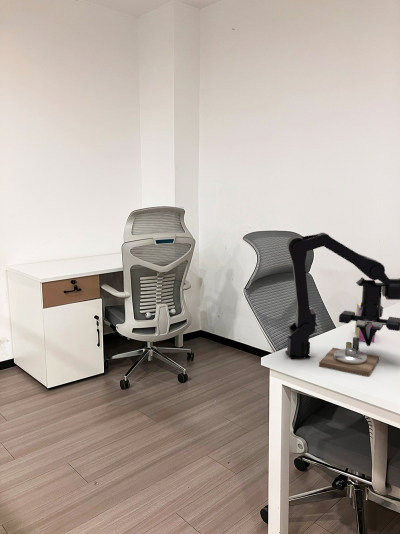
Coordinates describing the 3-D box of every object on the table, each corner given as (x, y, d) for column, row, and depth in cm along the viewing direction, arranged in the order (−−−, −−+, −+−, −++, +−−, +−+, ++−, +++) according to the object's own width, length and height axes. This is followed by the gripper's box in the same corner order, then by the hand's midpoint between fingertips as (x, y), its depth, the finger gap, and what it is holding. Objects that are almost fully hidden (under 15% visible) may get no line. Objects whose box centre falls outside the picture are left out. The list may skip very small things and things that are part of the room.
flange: (362, 366, 142) (363, 351, 141) (329, 360, 147) (330, 345, 146) (371, 354, 152) (372, 340, 151) (340, 348, 157) (341, 334, 156)
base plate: (368, 376, 139) (370, 362, 138) (319, 366, 146) (319, 352, 146) (379, 360, 151) (380, 347, 150) (332, 351, 159) (333, 339, 158)
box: (374, 342, 168) (377, 310, 166) (358, 341, 169) (360, 310, 167) (370, 333, 178) (372, 303, 176) (354, 332, 179) (356, 302, 177)
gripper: (406, 297, 152) (403, 343, 155) (348, 290, 161) (346, 334, 164) (401, 305, 142) (397, 354, 145) (339, 297, 152) (337, 343, 155)
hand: (368, 345), depth 153 cm, fingers closed
